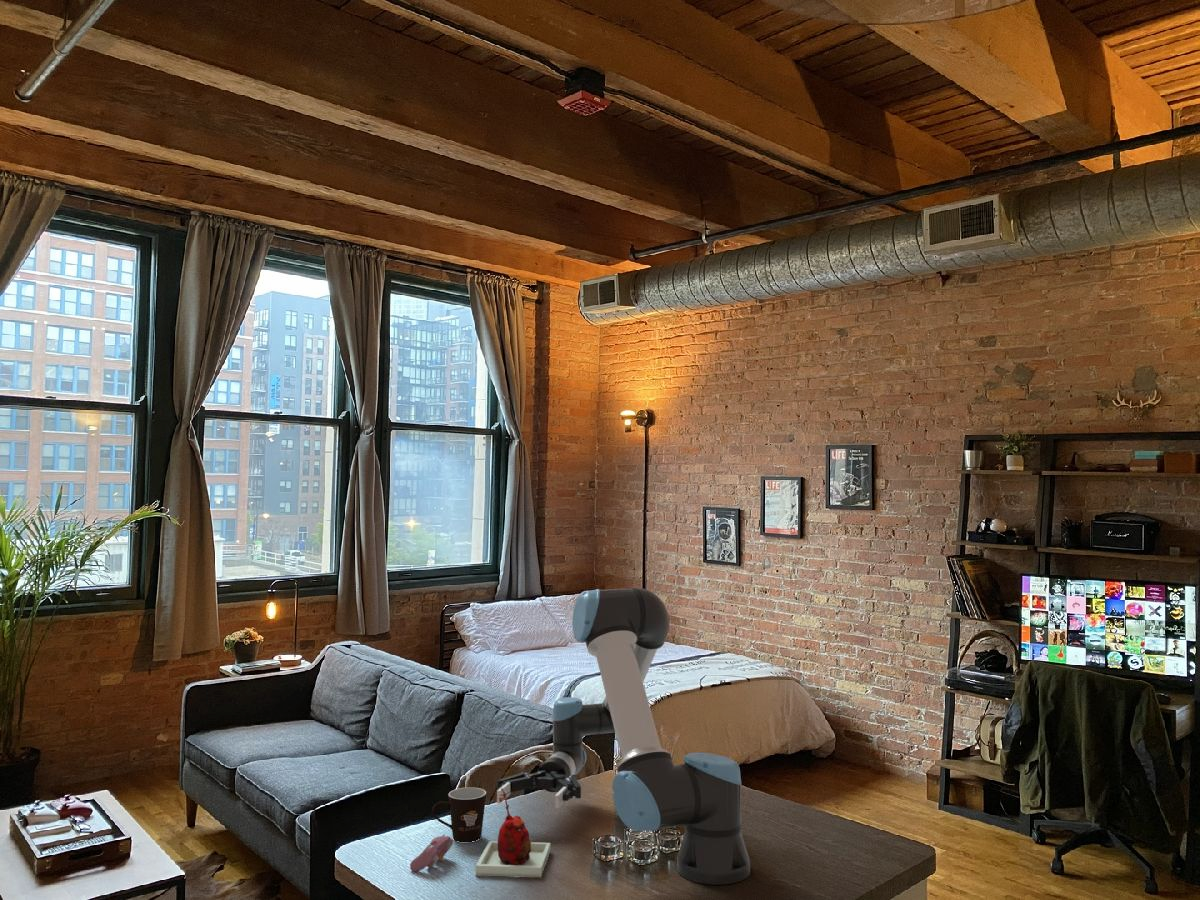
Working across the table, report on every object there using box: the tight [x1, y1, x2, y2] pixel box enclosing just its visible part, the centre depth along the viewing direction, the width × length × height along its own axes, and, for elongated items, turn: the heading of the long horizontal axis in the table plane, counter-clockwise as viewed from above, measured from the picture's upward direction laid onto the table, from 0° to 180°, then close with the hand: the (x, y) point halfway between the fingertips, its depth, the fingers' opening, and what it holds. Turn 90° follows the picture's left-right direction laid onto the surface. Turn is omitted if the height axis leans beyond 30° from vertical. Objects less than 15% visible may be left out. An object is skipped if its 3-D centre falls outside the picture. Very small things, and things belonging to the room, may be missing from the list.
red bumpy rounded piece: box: [497, 789, 532, 865], centre depth 191 cm, size 8×7×15 cm
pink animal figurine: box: [409, 834, 454, 872], centre depth 190 cm, size 10×5×7 cm, turn 161°
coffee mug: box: [431, 787, 487, 843], centre depth 205 cm, size 12×9×10 cm
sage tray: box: [475, 840, 552, 878], centre depth 190 cm, size 14×14×2 cm
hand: (527, 799), depth 198 cm, fingers open, 13 cm apart
